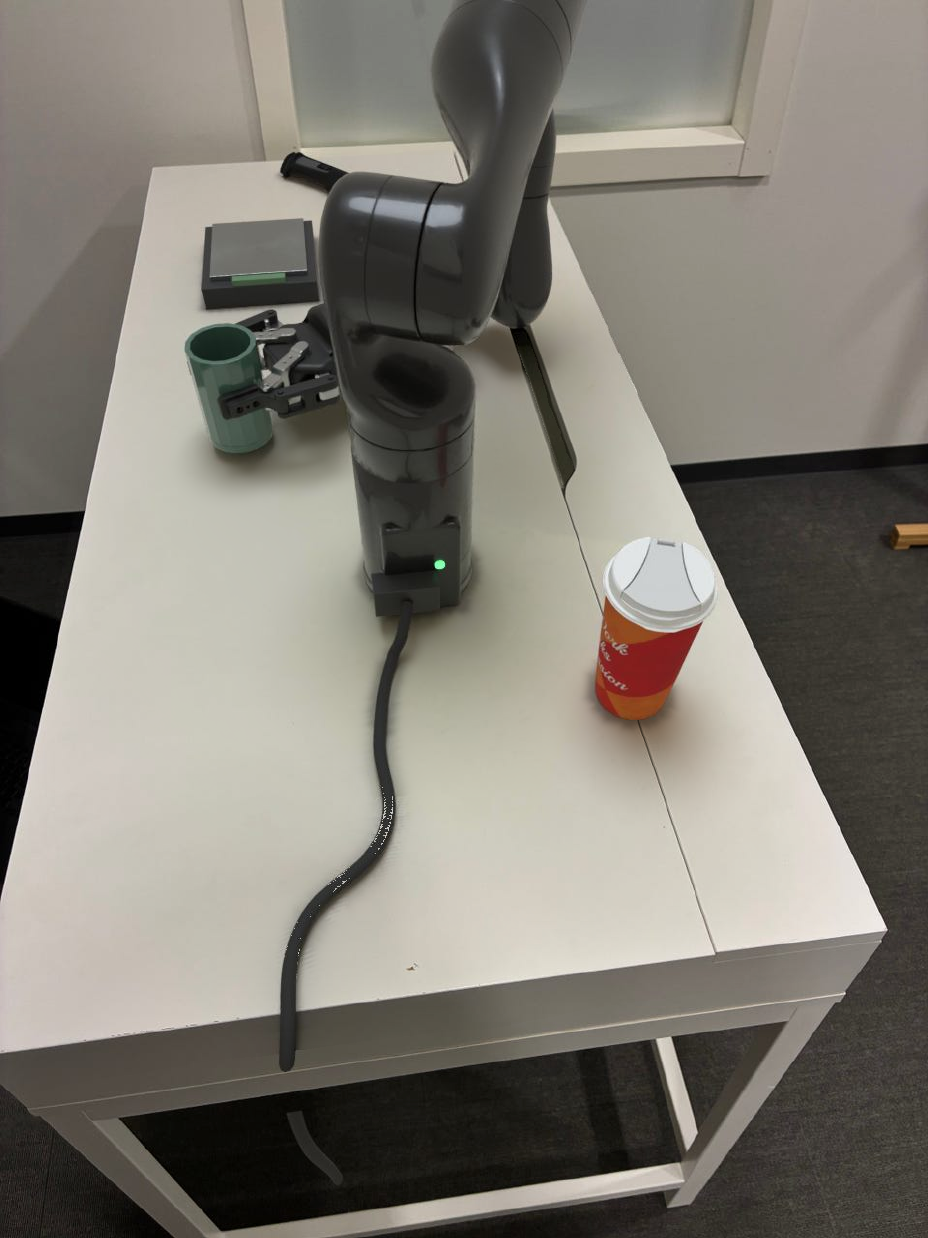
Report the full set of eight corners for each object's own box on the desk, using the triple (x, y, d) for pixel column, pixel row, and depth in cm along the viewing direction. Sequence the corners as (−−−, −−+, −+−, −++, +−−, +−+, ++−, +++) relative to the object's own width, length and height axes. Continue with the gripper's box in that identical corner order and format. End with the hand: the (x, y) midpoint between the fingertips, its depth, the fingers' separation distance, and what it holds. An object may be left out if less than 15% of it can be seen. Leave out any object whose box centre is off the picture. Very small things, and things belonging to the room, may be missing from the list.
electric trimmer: (365, 212, 116) (364, 188, 113) (278, 176, 121) (275, 153, 119) (383, 200, 118) (382, 177, 115) (297, 166, 123) (294, 143, 121)
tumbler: (274, 450, 84) (255, 360, 76) (208, 456, 83) (182, 366, 76) (273, 409, 88) (255, 320, 80) (210, 415, 87) (186, 325, 79)
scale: (319, 300, 102) (316, 275, 100) (206, 309, 101) (199, 283, 99) (314, 239, 111) (311, 214, 108) (209, 246, 110) (203, 221, 107)
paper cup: (587, 643, 72) (611, 522, 61) (682, 659, 71) (724, 540, 60) (575, 723, 67) (599, 608, 56) (676, 742, 66) (721, 629, 55)
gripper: (326, 263, 87) (164, 315, 81) (401, 334, 79) (229, 397, 73) (334, 330, 93) (183, 383, 87) (404, 402, 85) (245, 465, 79)
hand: (205, 389), depth 80 cm, fingers closed on tumbler, 6 cm apart
